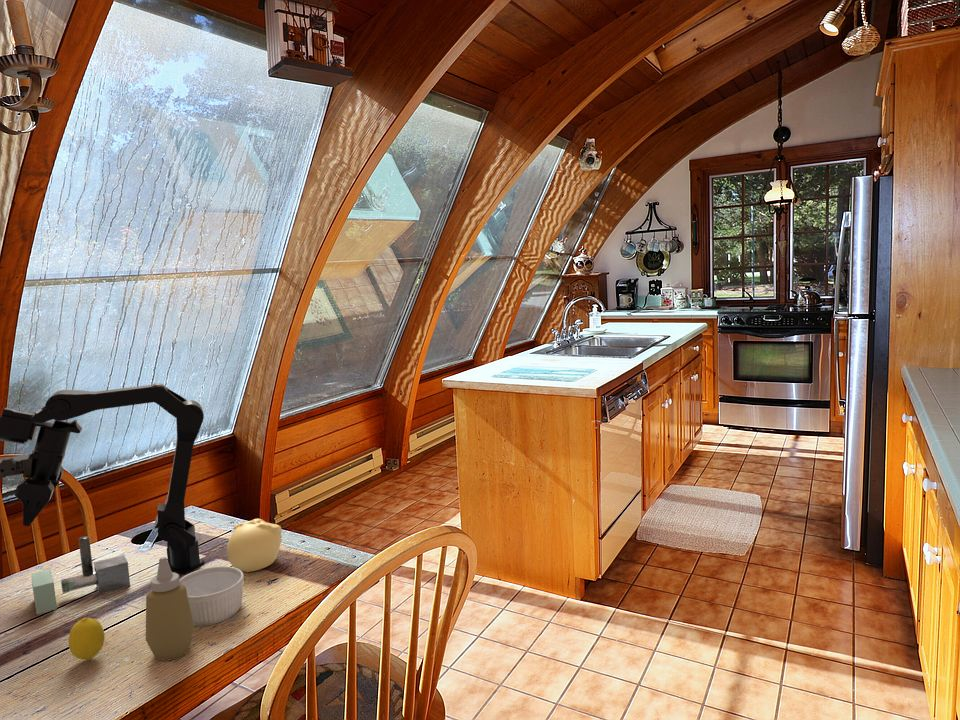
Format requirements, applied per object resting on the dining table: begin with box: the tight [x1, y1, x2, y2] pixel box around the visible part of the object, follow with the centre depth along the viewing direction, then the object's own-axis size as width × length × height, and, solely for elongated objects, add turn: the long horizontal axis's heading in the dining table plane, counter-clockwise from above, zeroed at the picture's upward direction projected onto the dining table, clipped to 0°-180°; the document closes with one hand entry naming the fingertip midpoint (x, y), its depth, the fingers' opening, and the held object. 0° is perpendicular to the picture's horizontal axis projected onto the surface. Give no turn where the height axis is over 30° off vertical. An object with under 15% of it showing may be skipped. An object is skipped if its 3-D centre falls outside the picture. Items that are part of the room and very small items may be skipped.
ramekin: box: [179, 565, 245, 627], centre depth 135 cm, size 13×13×7 cm
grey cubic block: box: [93, 554, 131, 595], centre depth 148 cm, size 6×5×6 cm
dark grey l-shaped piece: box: [60, 535, 98, 594], centre depth 145 cm, size 12×3×11 cm, turn 127°
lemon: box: [68, 617, 106, 661], centre depth 119 cm, size 6×6×8 cm
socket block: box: [30, 568, 58, 615], centre depth 140 cm, size 4×8×6 cm, turn 37°
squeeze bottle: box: [145, 556, 195, 662], centre depth 120 cm, size 8×8×18 cm
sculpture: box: [226, 518, 283, 573], centre depth 156 cm, size 11×12×11 cm
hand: (30, 518), depth 143 cm, fingers open, 9 cm apart
